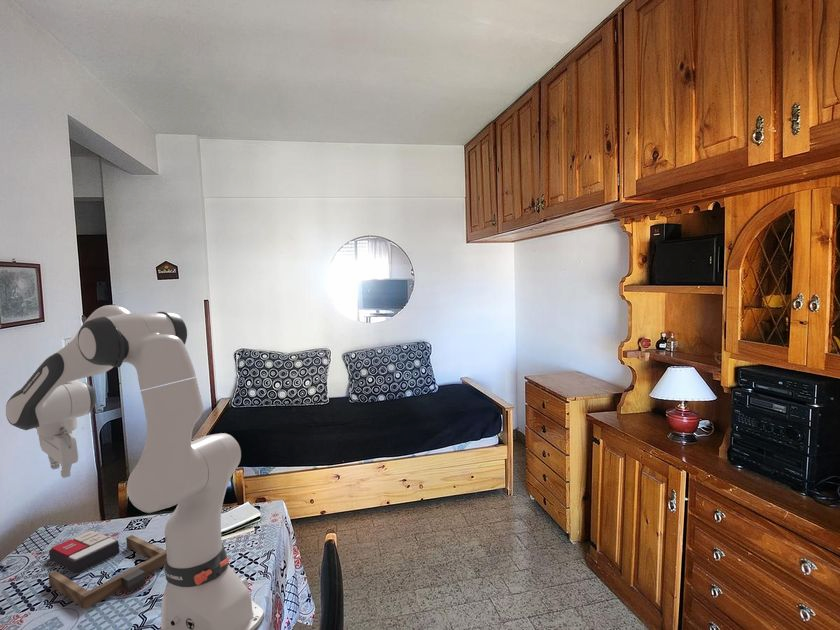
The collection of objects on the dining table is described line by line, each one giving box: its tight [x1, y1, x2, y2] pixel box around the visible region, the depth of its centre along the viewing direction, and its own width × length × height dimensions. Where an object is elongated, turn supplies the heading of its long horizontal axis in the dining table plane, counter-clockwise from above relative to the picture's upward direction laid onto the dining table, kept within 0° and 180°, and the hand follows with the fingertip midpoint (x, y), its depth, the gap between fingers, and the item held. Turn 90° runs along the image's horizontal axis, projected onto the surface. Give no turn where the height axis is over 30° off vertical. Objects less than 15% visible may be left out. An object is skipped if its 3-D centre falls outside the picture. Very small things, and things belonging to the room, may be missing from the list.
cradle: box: [48, 534, 167, 610], centre depth 117 cm, size 22×20×3 cm
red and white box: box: [48, 530, 121, 575], centre depth 127 cm, size 11×4×15 cm
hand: (60, 472), depth 129 cm, fingers open, 8 cm apart
